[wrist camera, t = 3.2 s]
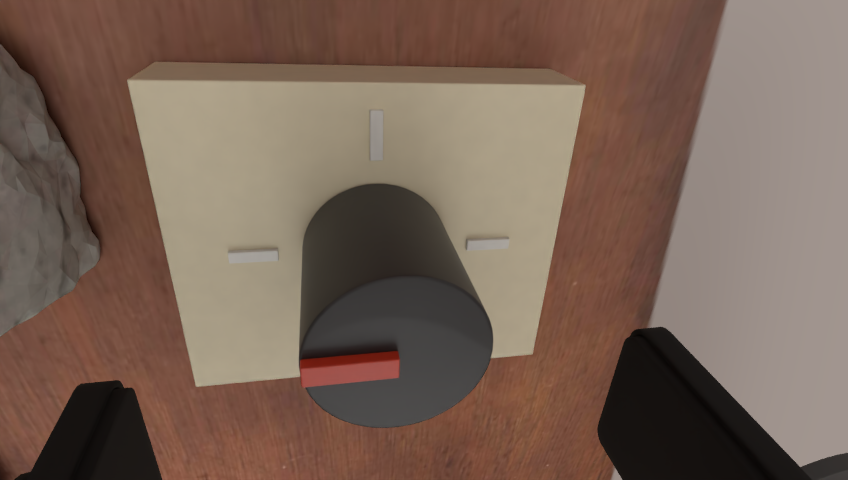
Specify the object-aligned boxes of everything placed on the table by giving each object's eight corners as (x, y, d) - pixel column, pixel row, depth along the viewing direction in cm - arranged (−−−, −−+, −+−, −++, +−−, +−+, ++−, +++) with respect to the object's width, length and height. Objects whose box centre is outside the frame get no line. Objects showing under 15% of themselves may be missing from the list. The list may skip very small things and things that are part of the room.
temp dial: (450, 180, 15) (510, 277, 10) (440, 302, 17) (487, 427, 12) (297, 184, 14) (290, 291, 10) (307, 311, 16) (304, 449, 12)
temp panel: (551, 68, 16) (589, 86, 14) (510, 314, 21) (534, 357, 19) (154, 61, 14) (124, 80, 12) (208, 339, 19) (194, 391, 17)
